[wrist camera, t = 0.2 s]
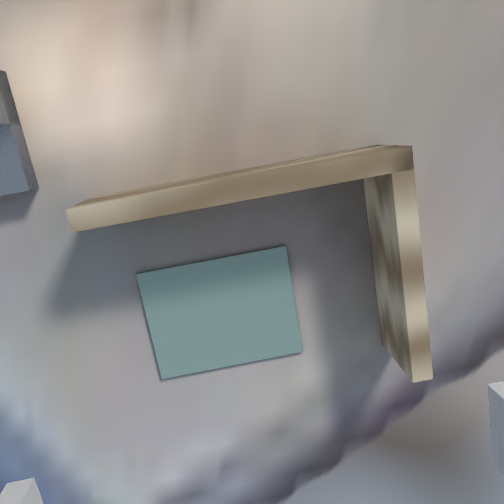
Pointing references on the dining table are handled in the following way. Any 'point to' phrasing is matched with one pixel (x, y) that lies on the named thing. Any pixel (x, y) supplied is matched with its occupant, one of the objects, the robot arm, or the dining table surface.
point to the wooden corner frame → (305, 177)
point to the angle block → (13, 147)
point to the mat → (221, 311)
